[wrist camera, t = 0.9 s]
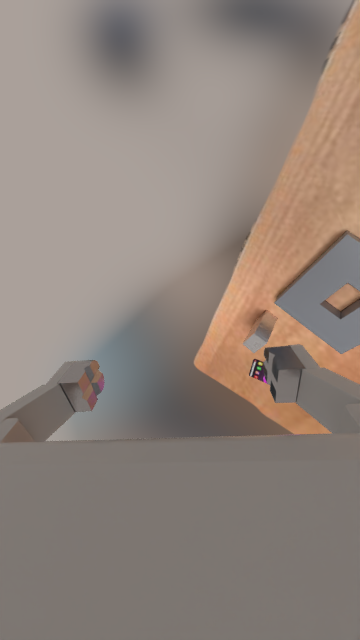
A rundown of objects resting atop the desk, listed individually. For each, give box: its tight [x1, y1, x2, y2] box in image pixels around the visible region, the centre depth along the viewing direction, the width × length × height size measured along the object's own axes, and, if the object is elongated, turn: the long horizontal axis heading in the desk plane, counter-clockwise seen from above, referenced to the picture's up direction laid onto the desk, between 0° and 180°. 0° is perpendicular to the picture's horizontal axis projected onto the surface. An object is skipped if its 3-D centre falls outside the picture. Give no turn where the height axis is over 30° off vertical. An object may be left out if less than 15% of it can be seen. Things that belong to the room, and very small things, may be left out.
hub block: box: [275, 231, 360, 354], centre depth 37 cm, size 16×16×3 cm
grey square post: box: [243, 310, 278, 353], centre depth 46 cm, size 4×3×10 cm
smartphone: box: [249, 359, 268, 384], centre depth 56 cm, size 7×15×1 cm, turn 90°
